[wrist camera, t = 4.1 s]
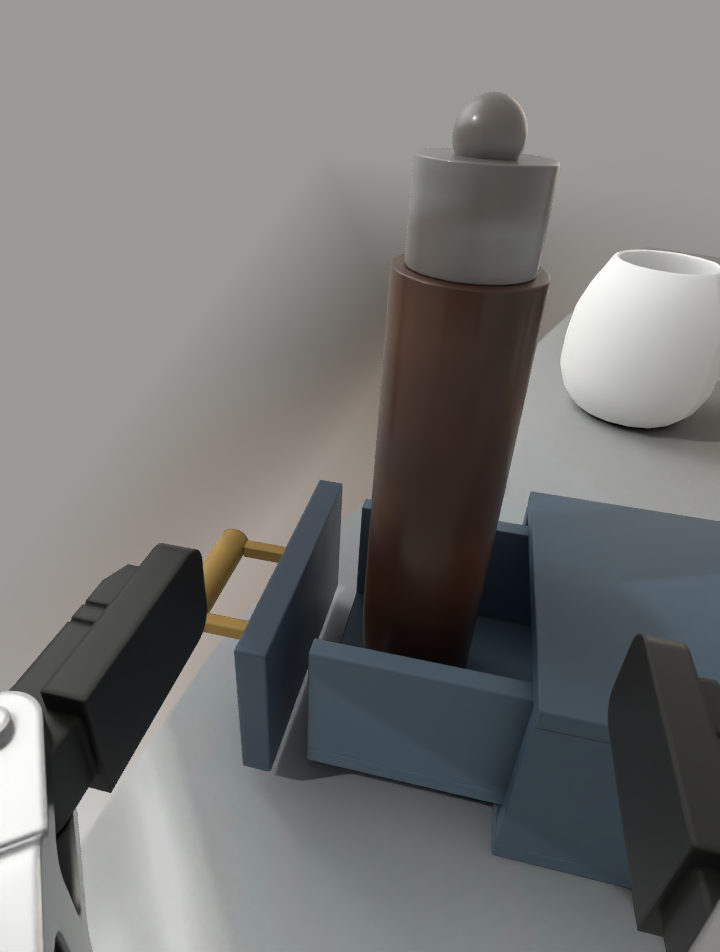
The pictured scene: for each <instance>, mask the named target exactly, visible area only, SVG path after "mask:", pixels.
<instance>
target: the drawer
mask: <svg viewBox="0 0 720 952" xmlns="http://www.w3.org/2000/svg"><path fill="white" fill-rule="evenodd" d="M371 504H372V500H369V499H366V500H365V502H364V505H363V507H362V519H361V533H360V548H359V562H358V576H357V593H356V596H355V599H354V602H353V605H352V609H351V612H350V615H349V618H348V621H347V624H346V627H345V631H344V634H343V637H342V640H341V643H336V642H331V641H326V640H321V639H318V638H319V636H320V633H321V630H322V627H323V624H324V622H325V619H326V616H327V613H328V611H329V608H330V605H331V602H332V599H333V597H334V594H335V591H336V588H337V586H338V569H339V548H340V527H341V506H342V484H341V483H335V482H329V481H323V480H320V481H319V483H318V485H317V487H316V489H315V491H314V493H313V495H312V497H311V499H310V501H309V503H308V505H307V507H306V509H305V511H304V513H303V515H302V517H301V519H300V521H299V523H298V525H297V527H296V529H295V531H294V533H293V535H292V537H291V539H290V541H289V542H288V544H287V546H286V547H283V546H277V545H272V544H266V543H261V542H255V541H249V540H248V538H247V536H245V534H244V533H243V532H241V531H239V530H237V529H227V530H225V531H224V532H223V534H222V535H221V537H220V538H219V540H218V541H217V543H216V544H215V546H214V547H213V549H212V550H211V552H210V553H209V555H208V556H207V558H206V559H205V561H204V562H203V571H204V581H205V590H206V599H207V618H206V623H205V627H204V630H203V632H206V633H211V634H216V635H222V636H226V637H230V638H235V639H240V640H239V642H238V644H237V646H236V648H235V650H234V656H235V669H236V682H237V694H238V707H239V719H240V732H241V744H242V757H243V765H245V766H248V767H253V768H257V769H261V770H265V771H270V770H271V769H272V766H273V763H274V760H275V758H276V755H277V752H278V749H279V746H280V744H281V741H282V738H283V735H284V733H285V730H286V727H287V724H288V722H289V719H290V716H291V713H292V710H293V708H294V705H295V702H296V699H297V697H298V694H299V691H300V688H301V685H302V683H303V680H304V677H305V674H306V672H307V669H308V734H307V746H308V747H307V759H308V760H312V761H317V762H321V763H325V764H329V765H334V766H338V767H342V768H346V769H351V770H355V771H359V772H363V773H368V774H372V775H376V776H381V777H385V778H389V779H393V780H398V781H402V782H406V783H410V784H415V785H419V786H423V787H427V788H432V789H436V790H440V791H445V792H449V793H453V794H457V795H462V796H466V797H470V798H474V799H479V800H483V801H487V802H491V803H496V804H500V805H502V803H503V800H504V797H505V794H506V791H507V788H508V784H509V781H510V778H511V775H512V772H513V769H514V766H515V763H516V760H517V756H518V753H519V750H520V747H521V744H522V741H523V738H524V735H525V732H526V728H527V725H528V722H529V719H530V716H531V713H532V710H533V674H532V638H531V603H530V568H529V533H528V526H525V525H519V524H513V523H507V522H501V521H498V525H497V529H496V534H495V538H494V543H493V547H492V552H491V557H490V561H489V566H488V570H487V575H486V580H485V584H484V589H483V593H482V598H481V602H480V607H479V612H478V616H477V621H476V625H475V630H474V634H473V639H472V644H471V648H470V653H469V657H468V662H467V666H466V669H463V668H458V667H453V666H448V665H443V664H439V663H434V662H429V661H424V660H419V659H414V658H409V657H404V656H399V655H394V654H390V653H385V652H380V651H375V650H370V649H365V648H360V643H361V630H362V618H363V605H364V592H365V580H366V567H367V554H368V542H369V529H370V517H371ZM243 554H244V556H245V557H250V558H255V559H261V560H266V561H271V562H277V563H278V564H277V567H276V568H275V570H274V572H273V574H272V576H271V578H270V580H269V582H268V584H267V586H266V588H265V590H264V592H263V594H262V596H261V598H260V600H259V602H258V604H257V606H256V608H255V610H254V612H253V614H252V616H251V618H250V620H249V621H245V620H241V619H236V618H231V617H225V616H221V615H216V614H211V613H209V612H210V610H211V609H212V607H213V605H214V604H215V602H216V600H217V599H218V597H219V595H220V593H221V592H222V590H223V588H224V587H225V585H226V583H227V581H228V580H229V578H230V576H231V575H232V573H233V571H234V570H235V568H236V566H237V564H238V563H239V561H240V559H241V558H242V556H243Z"/></svg>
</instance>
